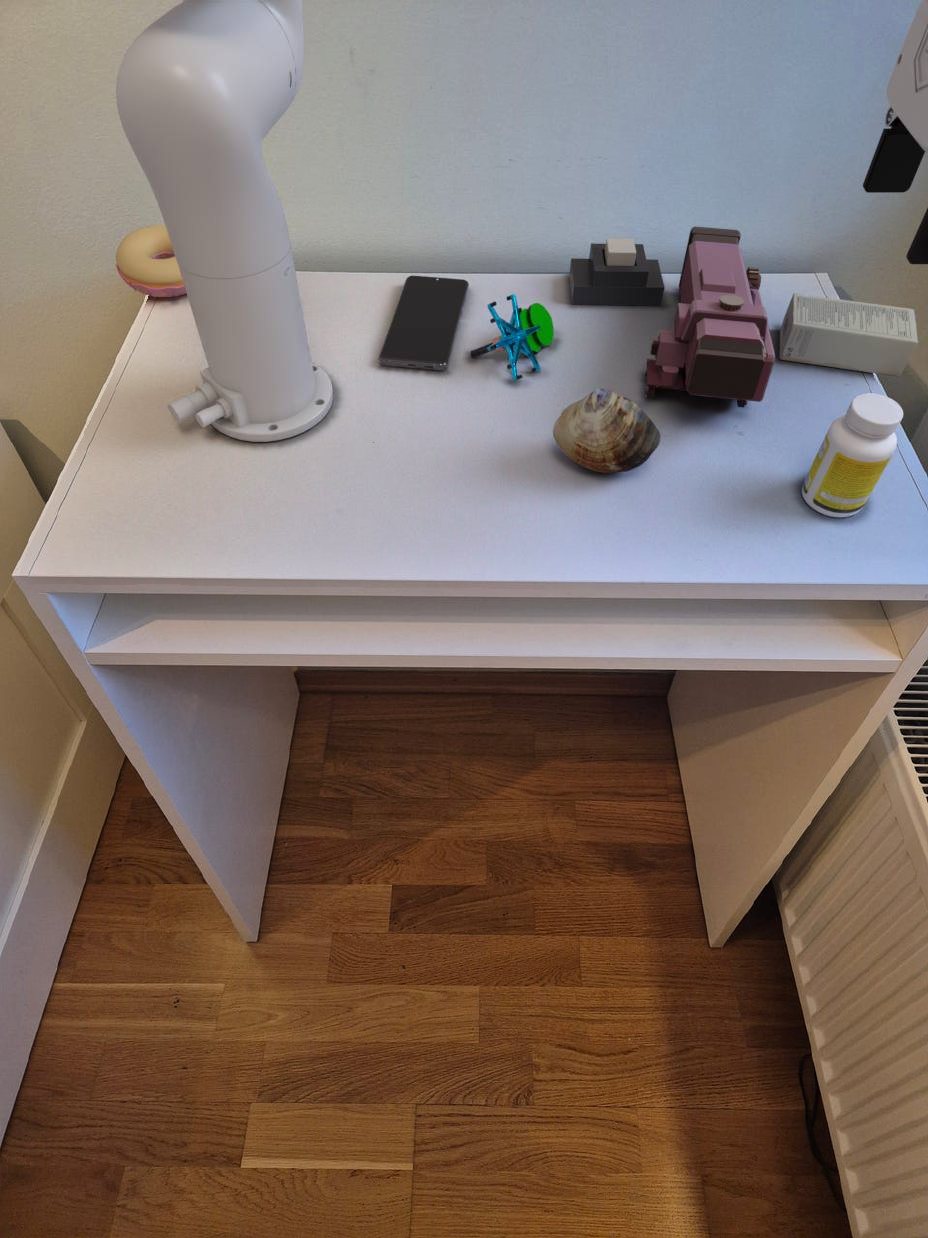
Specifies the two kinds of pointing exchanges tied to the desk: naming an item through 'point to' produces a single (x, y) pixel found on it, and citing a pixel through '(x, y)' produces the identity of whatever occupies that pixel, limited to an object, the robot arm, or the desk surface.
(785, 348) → the cosmetic box
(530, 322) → the stick construction toy
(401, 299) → the smartphone
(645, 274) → the dark gray block frame
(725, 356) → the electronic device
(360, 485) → the desk surface
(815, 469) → the supplement bottle
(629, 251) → the key back
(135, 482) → the desk surface
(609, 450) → the seashell
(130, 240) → the doughnut
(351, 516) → the desk surface
